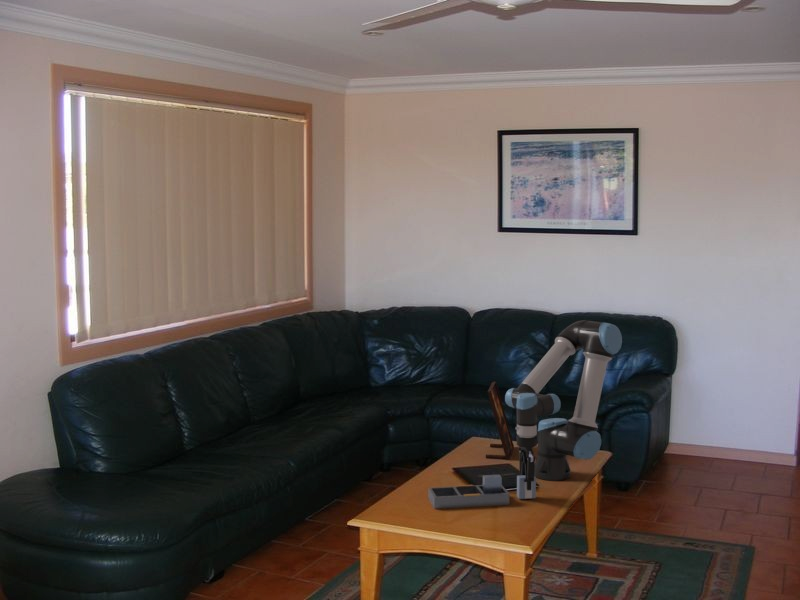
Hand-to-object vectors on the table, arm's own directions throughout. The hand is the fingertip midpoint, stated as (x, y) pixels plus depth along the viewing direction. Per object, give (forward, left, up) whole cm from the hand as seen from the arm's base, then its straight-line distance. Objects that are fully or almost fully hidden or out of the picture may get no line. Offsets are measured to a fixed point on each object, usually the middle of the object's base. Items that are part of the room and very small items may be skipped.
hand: (526, 496), depth 340 cm
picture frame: (-7, -61, -1) cm, 61 cm away
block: (0, 0, 0) cm, 1 cm away
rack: (+22, 0, -1) cm, 22 cm away
